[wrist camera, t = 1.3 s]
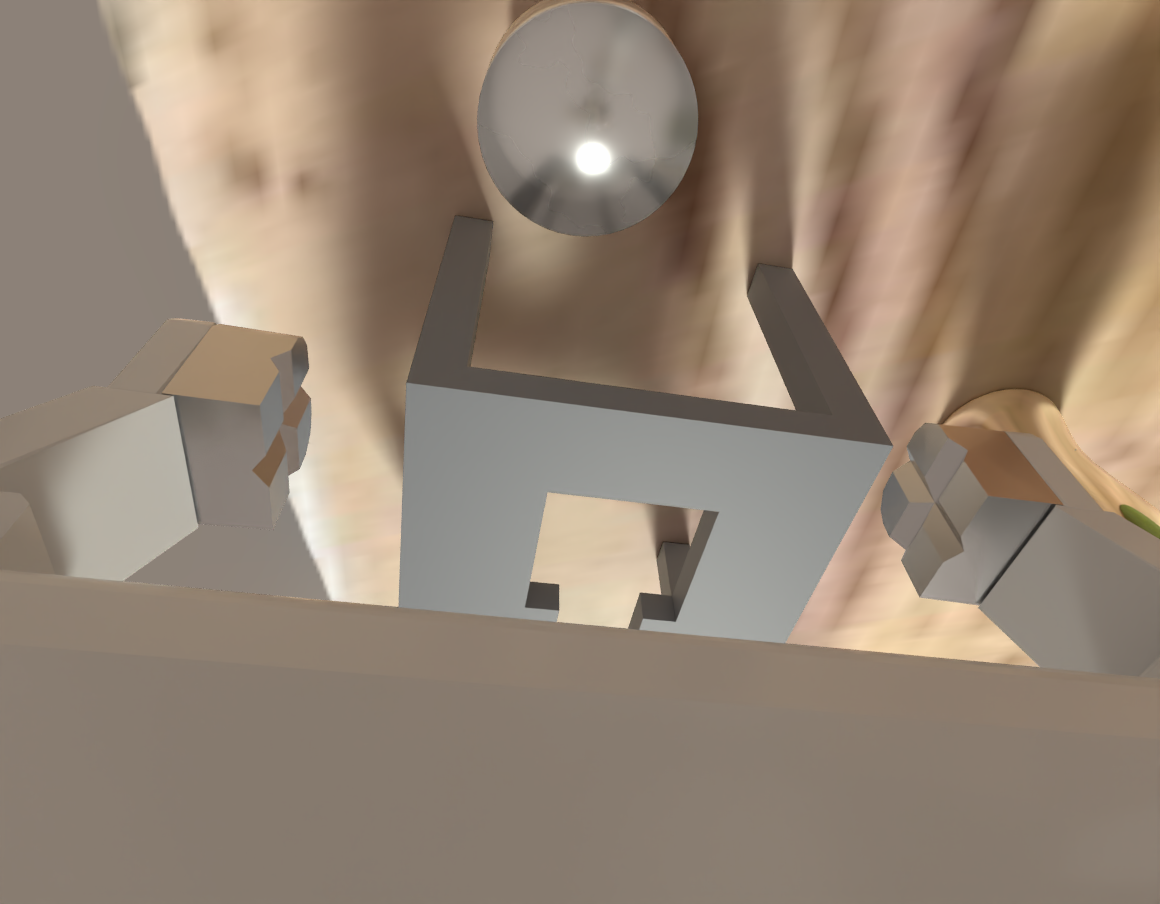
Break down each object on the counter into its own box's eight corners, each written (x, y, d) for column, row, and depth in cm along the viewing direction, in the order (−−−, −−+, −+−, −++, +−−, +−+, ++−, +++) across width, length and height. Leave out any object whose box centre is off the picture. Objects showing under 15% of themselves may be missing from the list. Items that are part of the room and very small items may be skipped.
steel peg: (505, -50, 24) (488, -20, 18) (685, -14, 25) (726, 27, 19) (487, 141, 28) (468, 219, 22) (645, 168, 28) (668, 250, 23)
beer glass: (1014, 500, 40) (1206, 769, 28) (895, 480, 39) (1042, 751, 27) (1098, 393, 35) (1365, 658, 24) (966, 367, 34) (1178, 631, 23)
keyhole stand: (455, 215, 29) (406, 382, 20) (792, 268, 31) (893, 446, 22) (432, 536, 40) (393, 742, 31) (682, 563, 42) (717, 765, 33)
